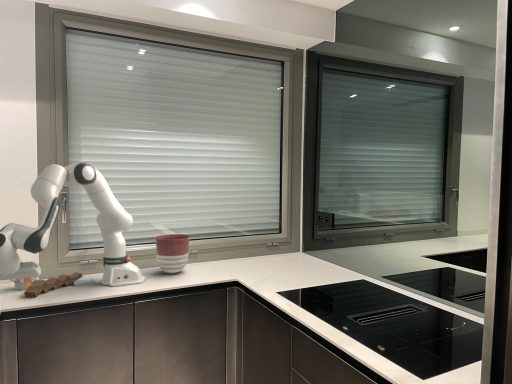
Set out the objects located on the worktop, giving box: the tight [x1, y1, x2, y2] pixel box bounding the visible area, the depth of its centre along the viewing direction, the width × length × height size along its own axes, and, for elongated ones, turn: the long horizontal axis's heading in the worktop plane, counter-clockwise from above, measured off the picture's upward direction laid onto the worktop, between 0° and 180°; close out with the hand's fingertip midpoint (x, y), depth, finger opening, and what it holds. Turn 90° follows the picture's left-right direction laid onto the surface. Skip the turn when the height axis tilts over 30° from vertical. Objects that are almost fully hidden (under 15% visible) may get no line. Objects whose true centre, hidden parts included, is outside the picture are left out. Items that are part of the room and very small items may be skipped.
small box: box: [14, 277, 37, 291], centre depth 191 cm, size 8×6×10 cm
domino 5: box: [73, 278, 96, 287], centre depth 198 cm, size 2×5×10 cm
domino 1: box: [23, 279, 47, 298], centre depth 180 cm, size 3×5×10 cm
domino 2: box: [39, 276, 59, 294], centre depth 187 cm, size 2×5×10 cm
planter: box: [155, 233, 190, 274], centre depth 221 cm, size 20×20×21 cm
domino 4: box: [61, 271, 84, 287], centre depth 198 cm, size 2×5×10 cm
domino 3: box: [50, 274, 70, 291], centre depth 193 cm, size 2×5×10 cm
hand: (18, 281), depth 163 cm, fingers closed
